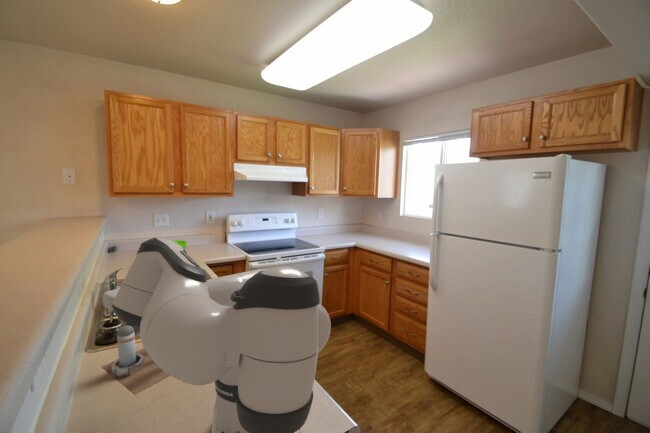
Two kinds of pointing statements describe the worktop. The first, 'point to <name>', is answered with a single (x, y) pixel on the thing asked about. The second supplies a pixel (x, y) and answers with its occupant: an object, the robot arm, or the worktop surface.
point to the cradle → (128, 370)
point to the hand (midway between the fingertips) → (138, 283)
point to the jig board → (140, 375)
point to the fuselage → (126, 346)
